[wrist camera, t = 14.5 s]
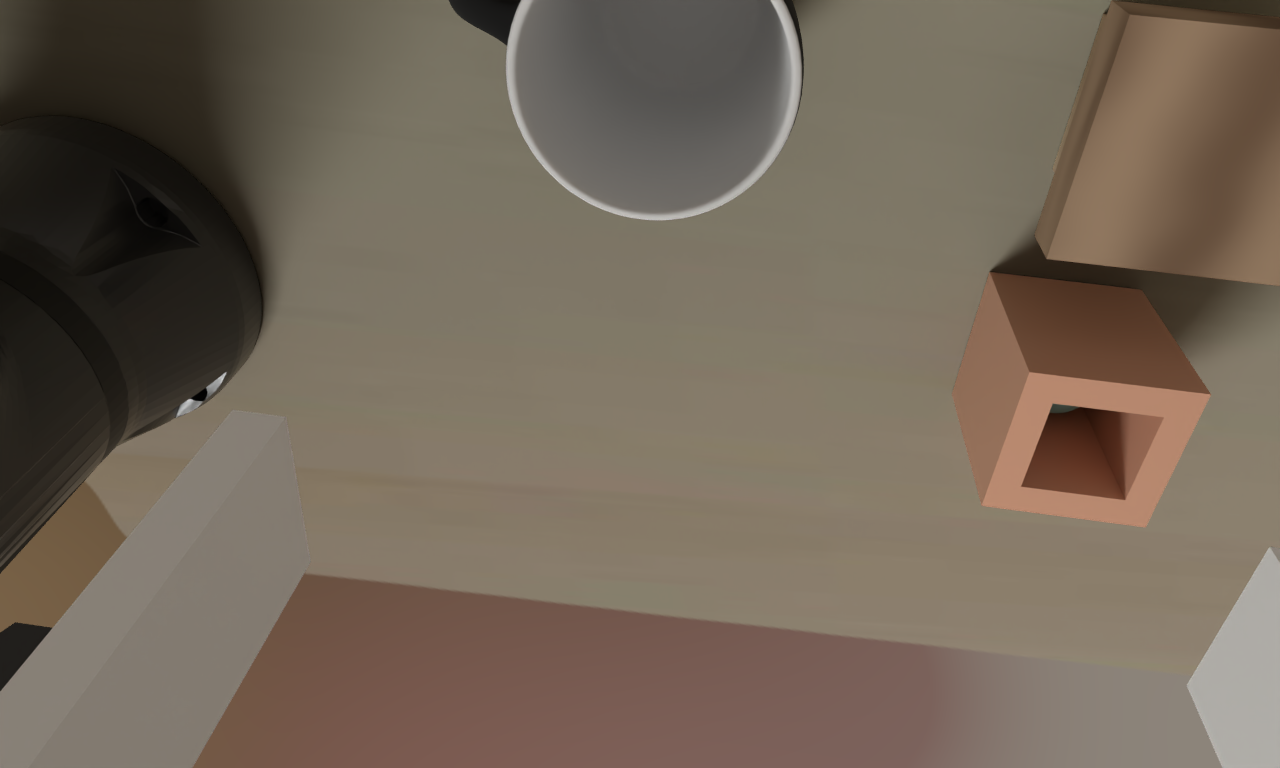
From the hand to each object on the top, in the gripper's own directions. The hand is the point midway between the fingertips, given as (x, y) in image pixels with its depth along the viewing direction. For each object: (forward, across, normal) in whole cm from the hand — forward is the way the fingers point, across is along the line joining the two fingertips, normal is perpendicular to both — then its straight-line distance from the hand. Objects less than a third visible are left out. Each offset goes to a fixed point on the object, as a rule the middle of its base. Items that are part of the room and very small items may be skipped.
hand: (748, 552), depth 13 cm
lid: (+25, +15, -1) cm, 29 cm away
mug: (+29, -5, +1) cm, 29 cm away
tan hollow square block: (+29, +14, -12) cm, 34 cm away
